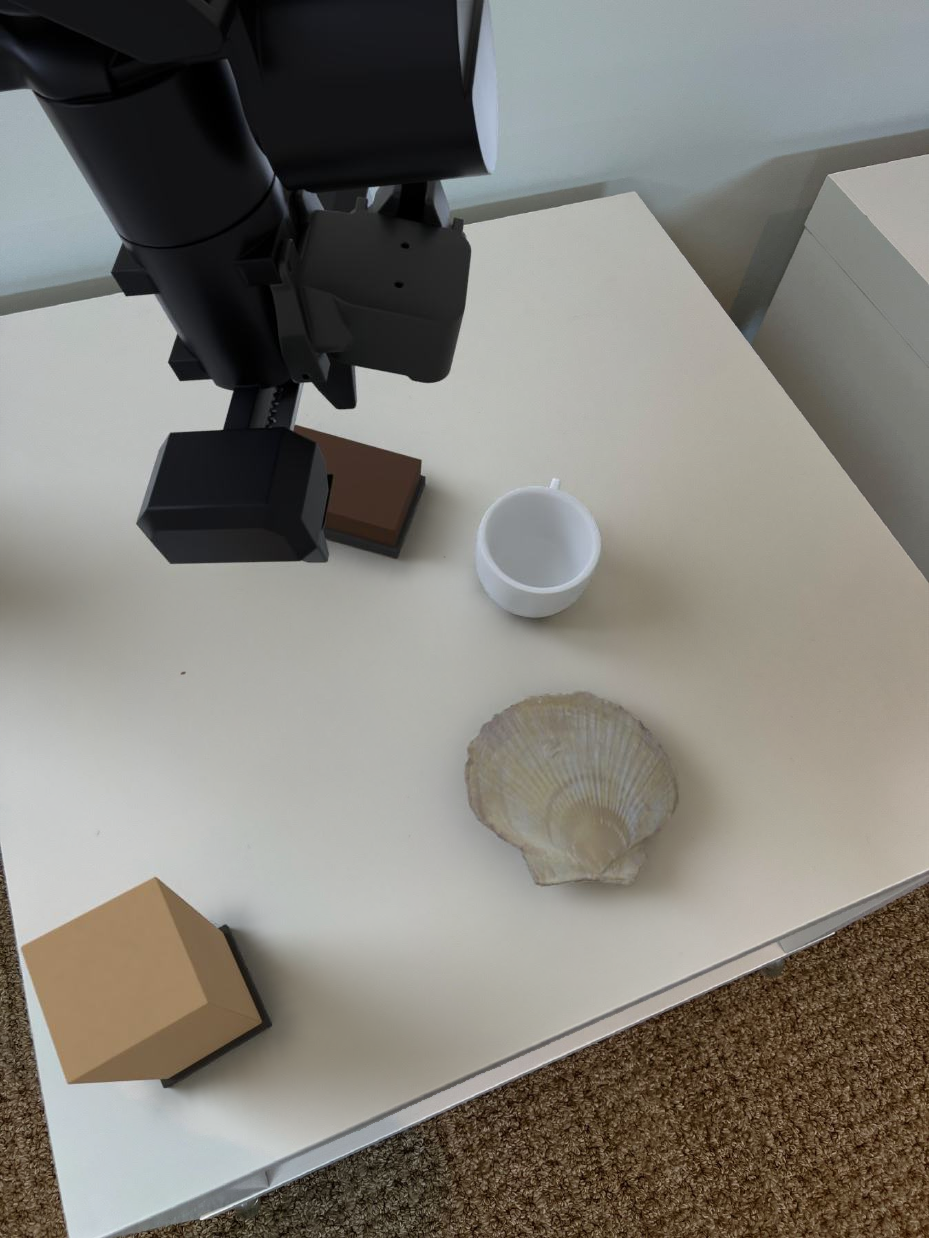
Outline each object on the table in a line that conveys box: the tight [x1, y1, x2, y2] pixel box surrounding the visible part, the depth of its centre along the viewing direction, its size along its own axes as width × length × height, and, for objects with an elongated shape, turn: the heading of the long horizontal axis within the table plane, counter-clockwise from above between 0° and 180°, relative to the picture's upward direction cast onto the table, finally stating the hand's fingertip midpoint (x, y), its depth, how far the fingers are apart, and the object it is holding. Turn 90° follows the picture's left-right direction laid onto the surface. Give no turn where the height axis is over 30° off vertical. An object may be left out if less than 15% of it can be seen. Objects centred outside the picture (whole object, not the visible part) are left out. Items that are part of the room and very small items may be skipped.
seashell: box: [463, 691, 680, 888], centre depth 50 cm, size 12×12×3 cm
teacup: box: [475, 477, 602, 618], centre depth 56 cm, size 10×8×5 cm
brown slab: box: [293, 424, 427, 560], centre depth 58 cm, size 11×6×3 cm, turn 74°
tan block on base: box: [20, 876, 273, 1089], centre depth 37 cm, size 6×6×16 cm
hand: (333, 479), depth 42 cm, fingers open, 9 cm apart
